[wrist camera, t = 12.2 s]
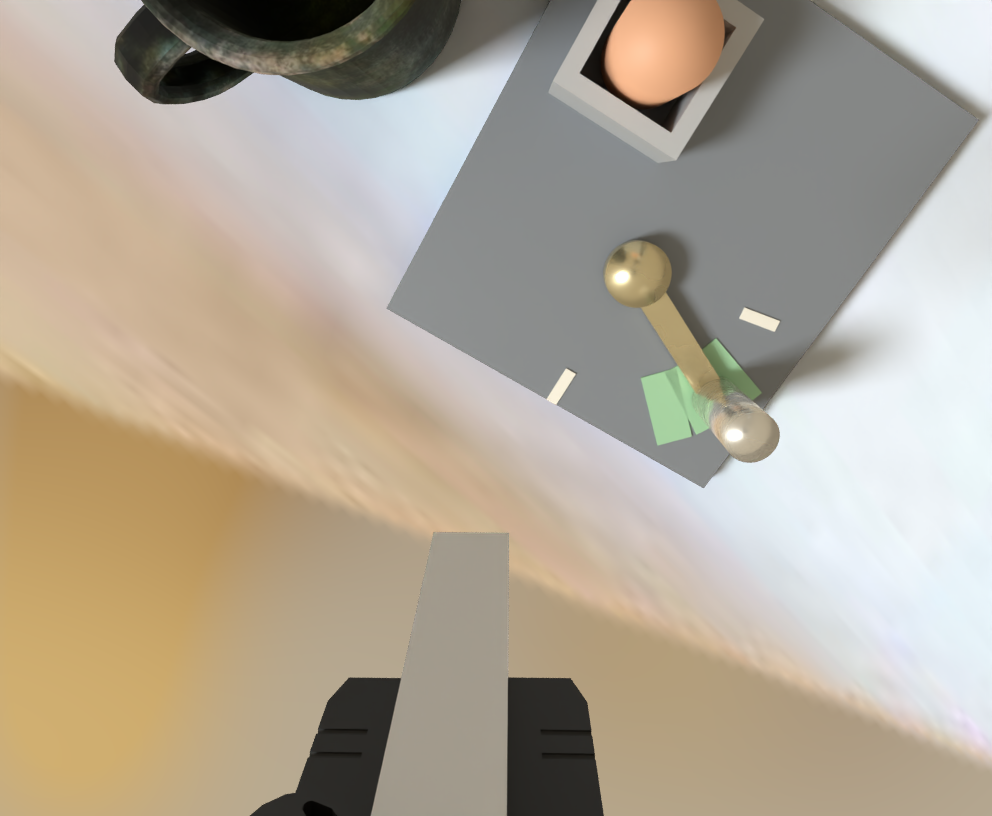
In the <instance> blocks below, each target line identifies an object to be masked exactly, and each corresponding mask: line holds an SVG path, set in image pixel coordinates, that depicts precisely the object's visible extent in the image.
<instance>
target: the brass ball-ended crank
mask: <svg viewBox="0 0 992 816" xmlns="http://www.w3.org/2000/svg"><path fill="white" fill-rule="evenodd" d="M671 276H672V269H671V264H670V261H669V259H668V257H667V255H666V254H665V252H664V251H663V250H662V249H660V248H659V247H658V246H656V245H654V244H652V243H649V242H647V241H643V240H632V241H628V242H625V243H622V244H621V245H619V246H618V247H616V248H615V249H614V250H613V251H612V252H611V253H610V255H609V256H608V258H607V260H606V262H605V265H604V270H603V279H604V283H605V286H606V288H607V290H608V292H609V293H610V294H611V295H612V297H613V298H614V299H615V300H616V301H618V302H619V303H621V304H622V305H625V306H627V307H632V308H641V309H642V311H643V312H644V314H645V316H646V317H647V319H648V320H649V322H650V323H651V325H652V326H653V328H654V330H655V331H656V333H657V334H658V336H659V337H660V339H661V341H662V342H663V344H664V345H665V347H666V348H667V350H668V351H669V353H670V355H671V356H672V358H673V359H674V361H675V362H676V364H677V366H678V367H679V369H680V370H681V372H682V373H683V375H684V376H685V378H686V380H687V381H688V383H689V384H690V386H691V387H692V389H693V390H694V391H693V393H692V406H693V408H694V410H695V411H696V413H697V414H698V415H699V416H700V418H701V419H702V420H703V421H704V422H705V424H706V425H707V426H708V427H709V429H710V430H711V431H712V432H713V434H714V435H715V436H716V437H717V438H718V440H719V441H720V442H721V443H722V445H723V446H724V447H725V448H726V449H727V451H728V452H729V453H730V454H731V455H732V456H733V457H734V458H735V459H737V460H739V461H742V462H748V463H752V462H757V461H760V460H763V459H765V458H766V457H768V456H769V455H770V454H771V453H772V452H773V451H774V450H775V448H776V447H777V445H778V442H779V437H780V432H779V428H778V425H777V423H776V422H775V421H774V420H773V419H772V418H771V417H770V416H769V415H768V414H767V413H766V412H765V411H764V410H762V409H761V408H760V407H759V406H758V405H757V404H756V403H755V402H753V401H752V400H751V399H750V398H749V397H748V396H747V395H746V394H745V393H743V392H742V391H741V390H740V389H739V388H738V387H737V386H736V385H735V384H733V383H732V382H731V381H730V380H729V379H727V378H725V377H721V376H718V375H717V373H716V372H715V370H714V368H713V367H712V365H711V364H710V362H709V360H708V359H707V357H706V356H705V354H704V352H703V351H702V349H701V348H700V346H699V344H698V343H697V341H696V340H695V338H694V336H693V335H692V333H691V332H690V330H689V328H688V327H687V325H686V324H685V322H684V320H683V319H682V317H681V316H680V314H679V312H678V311H677V309H676V308H675V306H674V304H673V303H672V301H671V300H670V298H669V296H668V295H667V293H666V291H667V289H668V287H669V285H670V282H671Z"/></svg>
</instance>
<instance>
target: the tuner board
mask: <svg viewBox="0 0 992 816" xmlns="http://www.w3.org/2000/svg"><path fill="white" fill-rule="evenodd" d="M630 1H631V0H550V2H549V4H548V6H547V8H546V10H545V12H544V13H543V15H542V17H541V19H540V21H539V23H538V25H537V27H536V28H535V30H534V32H533V34H532V36H531V38H530V40H529V42H528V43H527V45H526V47H525V49H524V51H523V53H522V55H521V57H520V58H519V60H518V62H517V64H516V66H515V68H514V70H513V72H512V74H511V75H510V77H509V79H508V81H507V83H506V85H505V87H504V89H503V90H502V92H501V94H500V96H499V98H498V100H497V102H496V104H495V105H494V107H493V109H492V111H491V113H490V115H489V117H488V119H487V120H486V122H485V124H484V126H483V128H482V130H481V132H480V134H479V136H478V137H477V139H476V141H475V143H474V145H473V147H472V149H471V151H470V152H469V154H468V156H467V158H466V160H465V162H464V164H463V166H462V167H461V169H460V171H459V173H458V175H457V177H456V179H455V181H454V183H453V184H452V186H451V188H450V190H449V192H448V194H447V196H446V198H445V199H444V201H443V203H442V205H441V207H440V209H439V211H438V213H437V214H436V216H435V218H434V220H433V222H432V224H431V226H430V228H429V229H428V231H427V233H426V235H425V237H424V239H423V241H422V243H421V245H420V246H419V248H418V250H417V252H416V254H415V256H414V258H413V260H412V261H411V263H410V265H409V267H408V269H407V271H406V273H405V275H404V276H403V278H402V280H401V282H400V284H399V286H398V288H397V290H396V291H395V293H394V295H393V297H392V299H391V301H390V303H389V305H388V307H387V309H388V310H390V311H392V312H394V313H395V314H397V315H399V316H401V317H403V318H404V319H406V320H408V321H410V322H411V323H413V324H415V325H417V326H418V327H420V328H422V329H424V330H425V331H427V332H429V333H431V334H433V335H434V336H436V337H438V338H440V339H441V340H443V341H445V342H447V343H448V344H450V345H452V346H454V347H455V348H457V349H459V350H461V351H462V352H464V353H466V354H468V355H470V356H471V357H473V358H475V359H477V360H478V361H480V362H482V363H484V364H485V365H487V366H489V367H491V368H492V369H494V370H496V371H498V372H500V373H501V374H503V375H505V376H507V377H508V378H510V379H512V380H514V381H515V382H517V383H519V384H521V385H522V386H524V387H526V388H528V389H529V390H531V391H533V392H535V393H537V394H538V395H540V396H542V397H544V398H545V399H546V400H548V401H550V402H552V403H553V404H555V405H558V406H559V407H561V408H563V409H565V410H567V411H568V412H570V413H572V414H574V415H575V416H577V417H579V418H581V419H582V420H584V421H586V422H588V423H589V424H591V425H593V426H595V427H597V428H598V429H600V430H602V431H604V432H605V433H607V434H609V435H611V436H612V437H614V438H616V439H618V440H619V441H621V442H623V443H625V444H626V445H628V446H630V447H632V448H634V449H635V450H637V451H639V452H641V453H642V454H644V455H646V456H648V457H649V458H651V459H653V460H655V461H656V462H658V463H660V464H662V465H664V466H665V467H667V468H669V469H671V470H672V471H674V472H676V473H678V474H679V475H681V476H683V477H685V478H686V479H688V480H690V481H692V482H693V483H695V484H697V485H699V486H701V487H702V488H704V487H705V486H706V485H707V483H708V482H709V481H710V479H711V478H712V477H713V475H714V474H715V473H716V471H717V470H718V469H719V467H720V466H721V465H722V463H723V462H724V460H725V459H726V458H727V456H728V455H729V454H730V453H729V452H728V451H727V449H726V448H725V447H724V446H723V445H722V443H721V442H720V441H719V440H718V438H717V437H716V436H715V435H714V434H713V432H712V431H711V430H710V429H709V427H708V426H707V425H706V424H705V422H704V421H703V420H702V419H701V418H700V416H699V415H698V414H697V413H696V411H695V410H694V408H693V406H692V393H693V391H694V390H693V389H692V387H691V386H690V384H689V383H688V381H687V380H686V378H685V376H684V375H683V373H682V372H681V370H680V369H679V367H678V366H677V364H676V362H675V361H674V359H673V358H672V356H671V355H670V353H669V351H668V350H667V348H666V347H665V345H664V344H663V342H662V341H661V339H660V337H659V336H658V334H657V333H656V331H655V330H654V328H653V326H652V325H651V323H650V322H649V320H648V319H647V317H646V316H645V314H644V312H643V311H642V309H641V308H632V307H627V306H625V305H622V304H621V303H619V302H618V301H616V300H615V299H614V298H613V297H612V295H611V294H610V293H609V292H608V290H607V288H606V286H605V283H604V279H603V270H604V265H605V262H606V260H607V258H608V256H609V255H610V253H611V252H612V251H613V250H614V249H615V248H616V247H618V246H619V245H621V244H622V243H625V242H628V241H632V240H643V241H647V242H649V243H652V244H654V245H656V246H658V247H659V248H660V249H662V250H663V251H664V252H665V254H666V255H667V257H668V259H669V261H670V264H671V269H672V276H671V282H670V285H669V287H668V289H667V291H666V293H667V295H668V296H669V298H670V300H671V301H672V303H673V304H674V306H675V308H676V309H677V311H678V312H679V314H680V316H681V317H682V319H683V320H684V322H685V324H686V325H687V327H688V328H689V330H690V332H691V333H692V335H693V336H694V338H695V340H696V341H697V343H698V344H699V346H700V348H701V349H702V351H703V352H704V354H705V356H706V357H707V359H708V360H709V362H710V364H711V365H712V367H713V368H714V370H715V372H716V373H717V375H718V376H721V377H725V378H727V379H729V380H730V381H731V382H732V383H733V384H735V385H736V386H737V387H738V388H739V389H740V390H741V391H742V392H743V393H745V394H746V395H747V396H748V397H749V398H750V399H751V400H752V401H753V402H755V403H756V404H757V405H758V406H759V407H760V408H761V409H762V410H763V408H764V407H765V406H766V404H767V403H768V402H769V400H770V399H771V398H772V396H773V395H774V394H775V392H776V391H777V390H778V388H779V387H780V386H781V384H782V383H783V382H784V380H785V379H786V378H787V376H788V375H789V374H790V372H791V371H792V370H793V368H794V367H795V365H796V364H797V363H798V361H799V360H800V359H801V357H802V356H803V355H804V353H805V352H806V351H807V349H808V348H809V347H810V345H811V344H812V343H813V341H814V340H815V339H816V337H817V336H818V335H819V333H820V332H821V331H822V329H823V328H824V327H825V325H826V324H827V323H828V321H829V320H830V319H831V317H832V316H833V315H834V313H835V312H836V311H837V309H838V308H839V307H840V305H841V304H842V303H843V301H844V300H845V299H846V297H847V296H848V295H849V293H850V292H851V291H852V289H853V288H854V287H855V285H856V284H857V283H858V281H859V280H860V279H861V277H862V276H863V275H864V273H865V272H866V271H867V269H868V268H869V266H870V265H871V264H872V262H873V261H874V260H875V258H876V257H877V256H878V254H879V253H880V252H881V250H882V249H883V248H884V246H885V245H886V244H887V242H888V241H889V240H890V238H891V237H892V236H893V234H894V233H895V232H896V230H897V229H898V228H899V226H900V225H901V224H902V222H903V221H904V220H905V218H906V217H907V216H908V214H909V213H910V212H911V210H912V209H913V208H914V206H915V205H916V204H917V202H918V201H919V200H920V198H921V197H922V196H923V194H924V193H925V192H926V190H927V189H928V188H929V186H930V185H931V184H932V182H933V181H934V180H935V178H936V177H937V176H938V174H939V173H940V172H941V170H942V169H943V167H944V166H945V165H946V163H947V162H948V161H949V159H950V158H951V157H952V155H953V154H954V153H955V151H956V150H957V149H958V147H959V146H960V145H961V143H962V142H963V141H964V139H965V138H966V137H967V135H968V134H969V133H970V131H971V130H972V129H973V127H974V126H975V125H976V123H977V122H978V121H979V120H978V119H977V118H976V117H974V116H973V115H971V114H970V113H968V112H967V111H966V110H964V109H963V108H961V107H960V106H959V105H957V104H956V103H954V102H953V101H952V100H950V99H949V98H947V97H946V96H944V95H943V94H942V93H940V92H939V91H937V90H936V89H935V88H933V87H932V86H930V85H929V84H927V83H926V82H925V81H923V80H922V79H920V78H919V77H918V76H916V75H915V74H913V73H912V72H911V71H909V70H908V69H906V68H905V67H903V66H902V65H901V64H899V63H898V62H896V61H895V60H894V59H892V58H891V57H889V56H888V55H887V54H885V53H884V52H882V51H881V50H879V49H878V48H877V47H875V46H874V45H872V44H871V43H870V42H868V41H867V40H865V39H864V38H862V37H861V36H860V35H858V34H857V33H855V32H854V31H853V30H851V29H850V28H848V27H847V26H846V25H844V24H843V23H841V22H840V21H838V20H837V19H836V18H834V17H833V16H831V15H830V14H829V13H827V12H826V11H824V10H823V9H821V8H820V7H819V6H817V5H816V4H814V3H813V2H812V1H810V0H716V1H717V3H718V5H719V7H720V9H721V12H722V15H723V19H724V27H725V37H724V44H723V49H722V52H721V55H720V58H719V60H718V62H717V64H716V66H715V68H714V69H713V70H712V72H711V73H710V75H709V76H708V77H707V78H706V79H705V80H704V81H703V82H702V83H701V84H699V85H698V86H697V87H695V88H694V89H692V90H690V91H688V92H686V93H684V94H682V95H680V96H678V97H676V98H675V99H673V100H671V101H669V102H667V103H665V104H663V105H661V106H659V107H656V108H653V109H647V110H639V109H634V108H632V107H631V106H629V105H627V104H626V103H624V102H623V101H621V100H620V99H618V98H617V97H615V96H614V95H612V94H611V93H610V92H609V91H608V89H607V87H606V86H605V83H604V81H603V77H602V73H601V53H602V49H603V46H604V43H605V41H606V38H607V36H608V35H609V33H610V32H611V30H612V29H613V27H614V26H615V24H616V22H617V21H618V19H619V18H620V16H621V15H622V13H623V12H624V10H625V9H626V7H627V6H628V4H629V3H630Z"/></svg>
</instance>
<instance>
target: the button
mask: <svg viewBox="0 0 992 816" xmlns="http://www.w3.org/2000/svg"><path fill="white" fill-rule="evenodd" d="M724 37H725V27H724V19H723V15H722V12H721V9H720V7H719V5H718V3H717V1H716V0H631V1H630V3H629V4H628V6H627V7H626V9H625V10H624V12H623V13H622V15H621V16H620V18H619V19H618V21H617V22H616V24H615V26H614V27H613V29H612V30H611V32H610V33H609V35H608V36H607V38H606V41H605V43H604V46H603V49H602V53H601V73H602V77H603V81H604V83H605V86H606V87H607V89H608V91H609V92H610V93H611V94H612V95H614V96H615V97H617V98H618V99H620V100H621V101H623V102H624V103H626V104H627V105H629V106H631V107H632V108H634V109H639V110H647V109H653V108H656V107H659V106H661V105H663V104H665V103H667V102H669V101H671V100H673V99H675V98H676V97H678V96H680V95H682V94H684V93H686V92H688V91H690V90H692V89H694V88H695V87H697V86H698V85H699V84H701V83H702V82H703V81H704V80H705V79H706V78H707V77H708V76H709V75H710V73H711V72H712V70H713V69H714V68H715V66H716V64H717V62H718V60H719V58H720V55H721V52H722V49H723V44H724Z"/></svg>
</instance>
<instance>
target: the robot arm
mask: <svg viewBox="0 0 992 816" xmlns="http://www.w3.org/2000/svg"><path fill="white" fill-rule="evenodd" d="M508 591H509V533H468V532H434V533H433V537H432V542H431V547H430V551H429V556H428V560H427V565H426V569H425V574H424V578H423V583H422V587H421V592H420V597H419V601H418V605H417V610H416V614H415V619H414V623H413V628H412V632H411V637H410V641H409V646H408V650H407V655H406V659H405V664H404V669H403V673H402V677H401V678H348V680H347V681H346V682H345V683H344V684H343V685H342V686H341V687H340V688H339V689H338V690H337V692H336V693H335V694H334V695H333V696H332V697H331V698H330V699H329V700H328V702H327V705H326V708H325V711H324V713H323V716H322V719H321V722H320V725H319V728H318V734H316V736H315V739H314V742H313V745H312V747H311V751H310V757H309V758H308V759H307V762H306V764H305V767H304V770H303V773H302V776H301V779H300V782H299V785H298V788H297V790H296V793H292V794H286V795H283V796H281V797H279V798H277V799H275V800H272V801H270V802H268V803H266V804H264V805H262V806H261V807H260V808H258V809H257V810H256V811H255V812H254V813H253V814H251V815H250V816H604V815H603V808H602V801H601V794H600V787H599V781H598V773H597V766H596V760H595V753H594V746H593V739H592V736H591V725H590V718H589V711H588V705H587V701H586V700H585V698H584V697H583V696H582V694H581V693H580V691H579V690H578V688H577V687H576V685H575V684H574V683H573V681H572V680H571V678H508V609H509V602H508V601H509V600H508V599H509V592H508Z"/></svg>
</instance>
